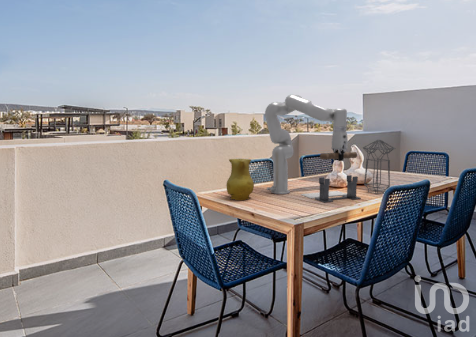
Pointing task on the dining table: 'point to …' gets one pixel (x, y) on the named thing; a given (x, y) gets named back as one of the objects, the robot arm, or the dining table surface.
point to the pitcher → (240, 180)
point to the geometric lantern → (377, 164)
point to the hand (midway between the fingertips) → (338, 160)
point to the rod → (337, 155)
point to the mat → (317, 195)
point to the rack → (350, 195)
